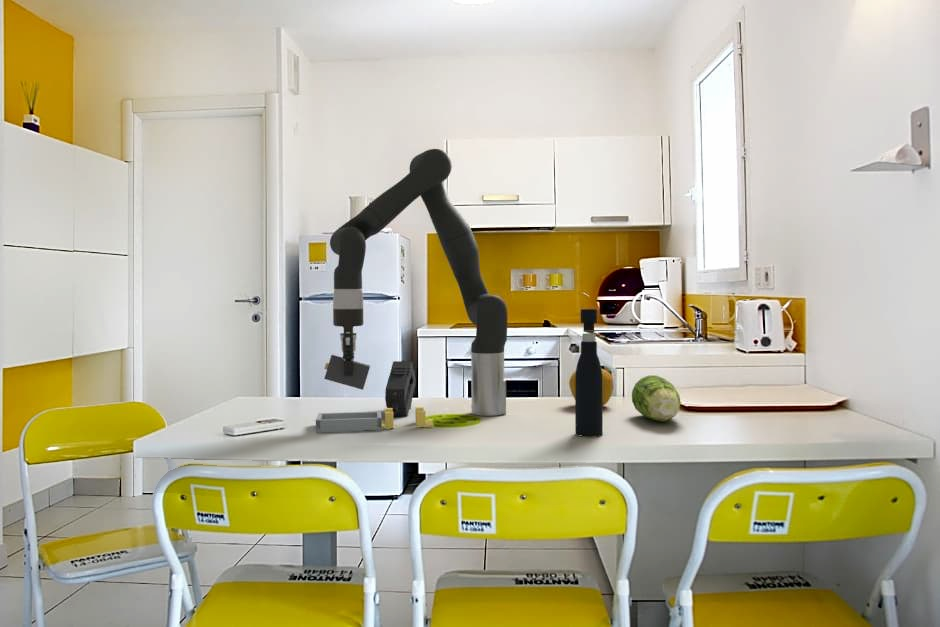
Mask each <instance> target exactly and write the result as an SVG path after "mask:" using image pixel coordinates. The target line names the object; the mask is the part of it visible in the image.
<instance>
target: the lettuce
mask: <svg viewBox="0 0 940 627" xmlns="http://www.w3.org/2000/svg"><path fill="white" fill-rule="evenodd" d="M680 396H681V395H680V393H679V392H678V391H677V388H676V387H675V386H674V384H672V383H671V382H669V381H668V380H667V379H666V378H664V377H661V376H658V375H650V374H649V375H646V376H644V377H642V378H640V379H639V380H638V381H636V382H635V384H634V387H633V388H632V391H631V403H632V404H633V406H634V408H635V410H636V411H638V412H639V413H640V415H642V416H643V417H645V418H647V419H649V420H652V421H656V422H665V421H670V420H671V419H672V418H674V417H676V416H677V414H678V413H679V411H680V407H681V403H682V401H681V397H680Z"/></svg>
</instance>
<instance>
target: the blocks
mask: <svg viewBox="0 0 940 627" xmlns="http://www.w3.org/2000/svg"><path fill="white" fill-rule="evenodd" d="M414 415H415V424H416V428H417V429H419V428H418V427H425V428H426V427H432V428H435V424H434V422H433V420H432V419H426V410H424V406H417V407H415V414H414ZM394 418H395V416H393V408H387V407H386V408H384V420H383V421H382V430H391V429H390V428H394V427H395V426H394V425H395V424H394ZM425 425H426V426H425Z"/></svg>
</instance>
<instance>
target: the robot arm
mask: <svg viewBox="0 0 940 627" xmlns="http://www.w3.org/2000/svg"><path fill="white" fill-rule="evenodd" d="M452 165H453V164H452V160H451V158H450V156H449V154H448V153H447V152H445V151H444V150H442V149H439V148H430V149H426V150H425V151H423V152H421V153H419V154H416V156H414V157H413V158H412V159H411V161H410V163H409V173H407V175H405V176H404V177H403V178H401V180H400V181H398V182H397V183H395V184H394V185H393V186H391V187H389V189H387V190H384V191H383V192H382V193H381V194H380V195H378V196H377V197H375V199H374V200H372V201H371V202H370V203H368V204H367V205H366V206H365V207H364V208H363V209H362V210H361V211H360V212H359V213H358V214H357V215H355V216H354V217H352V218H351V219H349V220H348V221H346V222H345V223H343V224H342V225H341V226H340V227H338V228H337V229H336V230H335V231H334V232H333V233H332V235H331V236H330V240H329V246H330V249H331V251H332V252H333V253H334V254H335V255H337V256H338V264H337V266H336V267H335V268H334V270H333V271H334V272H333V297H332V317H333V318H332V321H333V322H332V324H333V326H334V327H342V328H343V332H340V335H339V337H340V338H339V339H340V341H341V342H340V343H341V347H340V348H341V349H340V350H341V352H342V358H343V360H344V375H345V376H353V361H355V352H356V346H357V344H356V342H357V332H354V327H362V326H363V325H364V294H363V276H362V275H363V274H362V273H363V267H364V262H365V258H366V249H367V248H366V247H367V246H366V245H367V244H366V242H367V240H368V239H369V238H371V237H372V236H375V235H377V234H378V233H379V234H380V232H381V231H383V230H384V229H385V228H387V226H388V225H389V224H390V223H391V222H392V221H393V220H395V219H396V218H397V217H398V216H400V214H401V213H402V212H403V211H404V210H405V209H407V208H408V206H409V205H411V204H412V203H413V202H414V201H416V200H417V199H418V198H419V197H421V201H423V204H424V206H425V207H426V209H427V210H426V211H427V212H428V215H429V217H430V220H431V222H432V224H433V228H434V229H435V232H436V234H437V238H438V239H439V242H440V246H441V248H442V250H443V253H444V255H445V257H446V259H447V262H448V264H449V266H450V268H451V271H452V273H453V276H454V278H455V280H456V284H457V285H458V287H459V291H460V294H461V298H462V301H463V304H464V308H465V311H466V314H467V317H468V319H469V321H470V323H472V324H473V325H475V326H476V329H475V330H476V332H475V337H474V340H472V342H471V345H470V348H471V350H470V354H471V356H470V359H471V360H470V361H471V362H470V363H471V365H470V366H471V367H470V368H471V371H470V372H471V374H470V375H471V377H470V378H471V379H470V380H471V381H470V382H471V384H470V385H471V388H470V389H471V414H473V415H476V416H482V417H483V416H487V417H488V416H490V417H491V416H499V415H506V414H507V381H506V379H505V345H506V343H507V340H508V338H507V337H508V307H507V304H506V302H505V301H504V299H502V297H500V296H499V295H497V294H496V295H495V294H490V293H489V291H488V289H487V287H486V285H485V282H484V280H483V277H482V274H481V268H480V254H479V247H478V243H477V241H476V239H475V236H474V234H473V233H474V232H473V231H472V229H471V226H470V224H469V221H467V219H466V218H465V217H464V215H462V213H461V212H460V211H459V210H458V209H457V207H456V206H455V205H454V203H452V201H451V200H450V197H449V196H448V193H447V190H446V188H445V185H444V183H443V182H445V181H446V180H447V179H448V177H449V176H450V174H451V172H452V167H453V166H452Z"/></svg>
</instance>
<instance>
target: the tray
mask: <svg viewBox="0 0 940 627" xmlns="http://www.w3.org/2000/svg"><path fill="white" fill-rule="evenodd" d="M364 430H376V431H383V429H382V412H381V411H379V410H378V411H351V412H350V411H349V412H345V411H344V412H321V413H320V412H319V413H317V417H316V419H315V433H316V432H319V433H340V432H341V433H342V432H347V433H349V432H365V431H364Z"/></svg>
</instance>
